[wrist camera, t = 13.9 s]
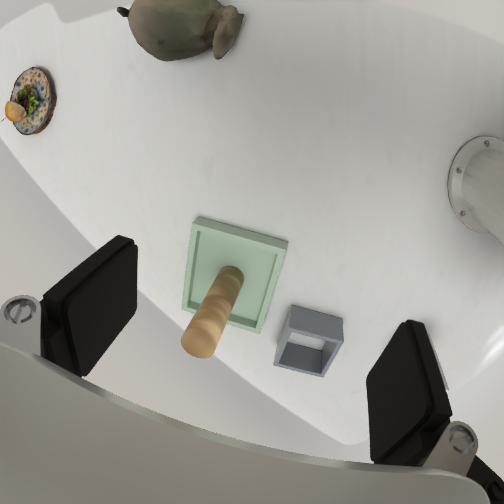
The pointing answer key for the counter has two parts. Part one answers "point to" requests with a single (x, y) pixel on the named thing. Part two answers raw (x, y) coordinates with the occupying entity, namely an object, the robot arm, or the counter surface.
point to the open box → (313, 327)
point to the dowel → (213, 313)
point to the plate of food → (31, 102)
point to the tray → (241, 256)
